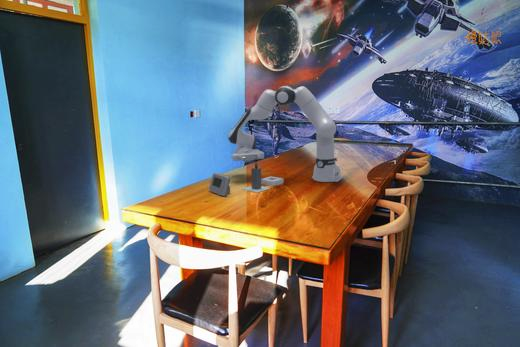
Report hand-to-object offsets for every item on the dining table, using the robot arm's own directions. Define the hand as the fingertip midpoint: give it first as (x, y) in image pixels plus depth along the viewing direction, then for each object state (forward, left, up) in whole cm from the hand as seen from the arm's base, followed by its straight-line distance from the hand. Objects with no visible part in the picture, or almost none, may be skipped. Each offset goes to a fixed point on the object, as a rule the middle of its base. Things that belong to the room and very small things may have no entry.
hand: (251, 158), depth 215 cm
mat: (+7, +10, -16) cm, 20 cm away
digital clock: (+27, 0, -17) cm, 31 cm away
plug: (+7, +10, -16) cm, 20 cm away
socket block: (-9, +9, -16) cm, 21 cm away
